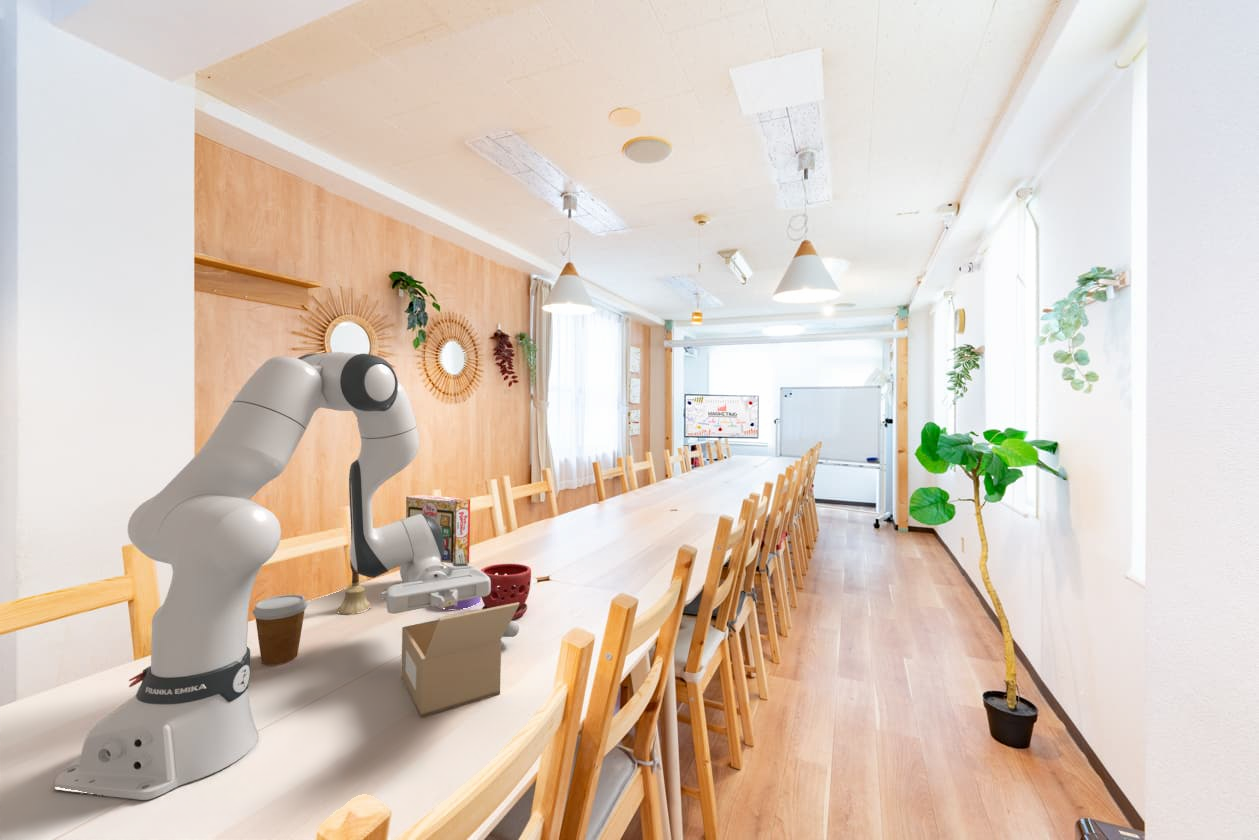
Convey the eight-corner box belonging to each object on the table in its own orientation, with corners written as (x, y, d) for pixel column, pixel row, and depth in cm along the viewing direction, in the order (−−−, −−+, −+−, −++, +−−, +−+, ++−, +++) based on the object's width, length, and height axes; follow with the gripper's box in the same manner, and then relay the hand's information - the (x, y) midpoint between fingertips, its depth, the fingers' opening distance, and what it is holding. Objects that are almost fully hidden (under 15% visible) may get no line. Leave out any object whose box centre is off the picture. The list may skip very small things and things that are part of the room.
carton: (400, 678, 99) (401, 627, 99) (472, 659, 108) (473, 612, 108) (420, 718, 86) (421, 659, 86) (500, 693, 94) (501, 640, 94)
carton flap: (439, 618, 79) (440, 620, 79) (518, 602, 87) (519, 604, 87) (424, 657, 87) (425, 659, 86) (499, 639, 94) (499, 641, 94)
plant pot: (538, 617, 132) (539, 571, 132) (488, 627, 124) (489, 578, 124) (519, 601, 142) (520, 559, 142) (472, 610, 135) (473, 565, 135)
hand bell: (378, 607, 136) (379, 548, 136) (347, 617, 129) (348, 554, 129) (361, 601, 140) (362, 543, 140) (330, 610, 133) (331, 549, 133)
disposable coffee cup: (246, 658, 106) (248, 601, 106) (299, 644, 113) (300, 590, 113) (257, 674, 100) (258, 613, 100) (312, 658, 107) (313, 601, 107)
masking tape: (427, 608, 137) (427, 594, 137) (452, 594, 148) (452, 581, 148) (465, 613, 134) (466, 598, 134) (488, 598, 145) (488, 584, 145)
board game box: (469, 588, 153) (471, 498, 153) (454, 594, 147) (456, 501, 147) (419, 578, 161) (421, 493, 161) (403, 584, 155) (405, 495, 155)
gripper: (379, 577, 104) (391, 597, 92) (478, 562, 115) (500, 578, 104) (378, 607, 104) (391, 631, 92) (477, 589, 115) (499, 609, 104)
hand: (449, 603), depth 98 cm, fingers closed
